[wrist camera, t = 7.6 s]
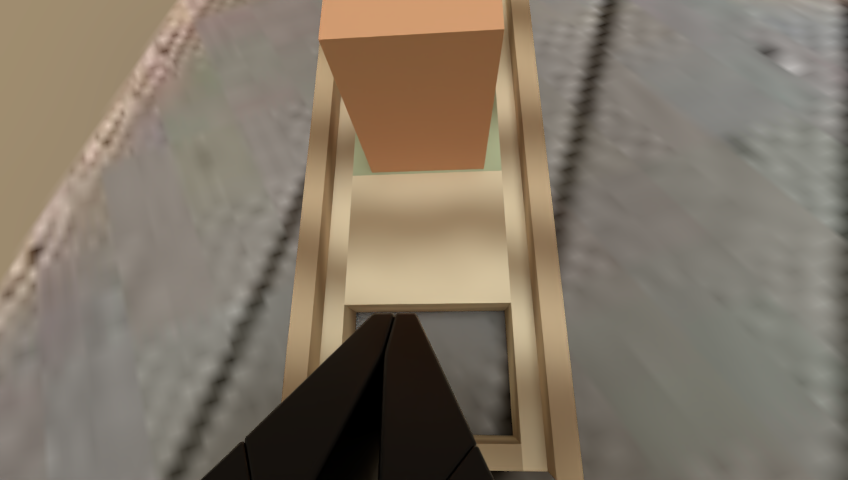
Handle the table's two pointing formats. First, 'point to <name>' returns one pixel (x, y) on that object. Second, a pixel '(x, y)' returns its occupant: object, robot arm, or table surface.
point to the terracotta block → (416, 78)
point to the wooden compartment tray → (445, 253)
